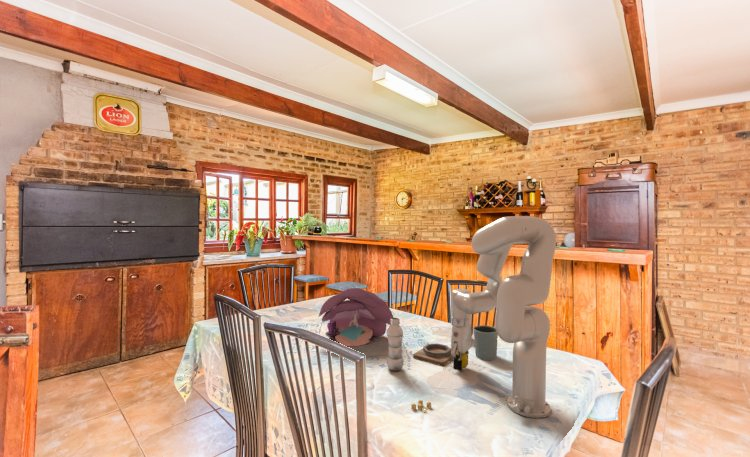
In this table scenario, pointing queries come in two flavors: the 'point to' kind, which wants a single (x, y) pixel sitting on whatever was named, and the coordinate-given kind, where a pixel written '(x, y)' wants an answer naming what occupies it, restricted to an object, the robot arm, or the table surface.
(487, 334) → the grey cup
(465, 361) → the lemon
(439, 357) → the holder
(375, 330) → the purple shell playhouse
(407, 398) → the table surface
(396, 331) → the plastic bottle
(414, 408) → the dice set
